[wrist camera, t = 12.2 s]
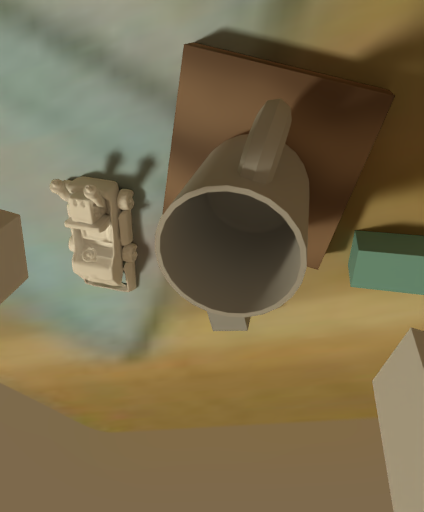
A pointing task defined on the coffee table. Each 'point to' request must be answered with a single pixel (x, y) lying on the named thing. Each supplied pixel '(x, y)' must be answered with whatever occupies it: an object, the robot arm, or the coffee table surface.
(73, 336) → the coffee table surface
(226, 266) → the cup
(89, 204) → the toy car
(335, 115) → the walnut block
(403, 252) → the teal brick
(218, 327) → the grey brick
